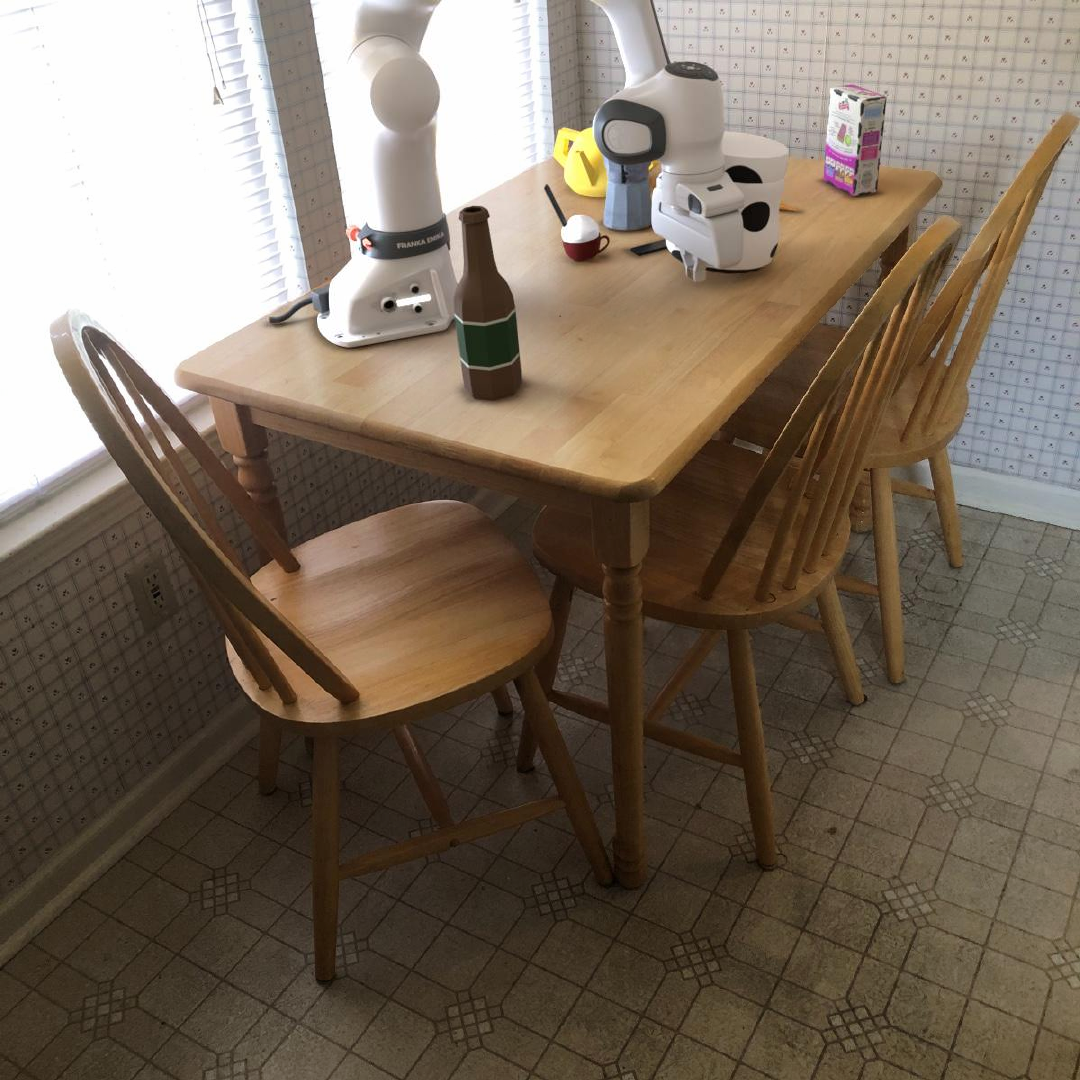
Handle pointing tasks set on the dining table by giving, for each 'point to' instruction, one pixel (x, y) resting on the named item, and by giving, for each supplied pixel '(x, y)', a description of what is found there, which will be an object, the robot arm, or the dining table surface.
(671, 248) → the milk container
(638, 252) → the ruler
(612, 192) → the moka pot
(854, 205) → the dining table surface
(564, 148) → the teapot
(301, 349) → the dining table surface
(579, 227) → the cocoa
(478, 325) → the beer bottle
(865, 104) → the candy bar box
